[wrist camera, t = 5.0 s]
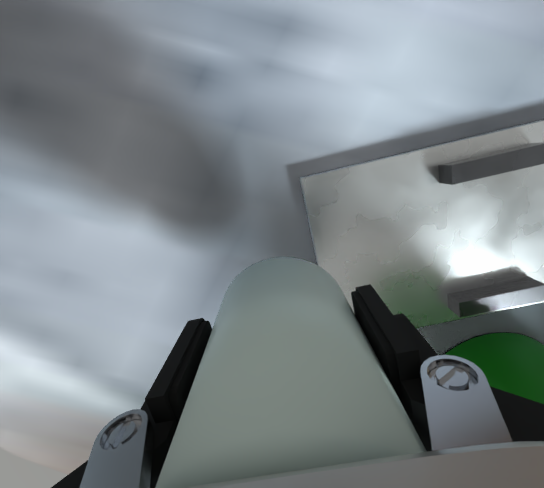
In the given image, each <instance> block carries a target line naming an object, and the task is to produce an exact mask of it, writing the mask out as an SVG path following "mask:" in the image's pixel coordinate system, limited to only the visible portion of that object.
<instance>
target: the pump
mask: <svg viewBox="0 0 544 488" xmlns="http://www.w3.org/2000/svg"><path fill="white" fill-rule="evenodd" d="M420 452H427V451H426V449H425V447H424V445H423V443H422V442H421V440H420V438H419V436H418V434H417V432H416V430H415V428H414V426H413V424H412V423H411V421H410V419H409V417H408V415H407V413H406V411H405V409H404V407H403V405H402V404H401V402H400V400H399V398H398V396H397V394H396V392H395V390H394V388H393V386H392V385H391V383H390V381H389V379H388V377H387V375H386V373H385V371H384V369H383V367H382V366H381V364H380V362H379V360H378V358H377V356H376V354H375V352H374V350H373V348H372V346H371V345H370V343H369V341H368V339H367V337H366V335H365V333H364V331H363V329H362V327H361V326H360V324H359V322H358V320H357V318H356V316H355V314H354V312H353V310H352V308H351V307H350V305H349V303H348V301H347V299H346V297H345V295H344V293H343V291H342V289H341V288H340V286H339V284H338V283H337V282H336V280H335V279H334V278H333V277H332V276H331V275H330V274H329V273H328V272H327V271H325V270H324V269H323V268H321V267H320V266H318V265H316V264H314V263H312V262H309V261H306V260H303V259H299V258H293V257H276V258H270V259H266V260H263V261H260V262H258V263H255V264H253V265H251V266H250V267H248V268H246V269H245V270H244V271H242V272H241V273H240V274H239V275H238V276H237V277H236V278H235V279H234V280H233V281H232V283H231V284H230V286H229V287H228V289H227V291H226V293H225V296H224V299H223V301H222V304H221V307H220V310H219V312H218V315H217V318H216V321H215V323H214V326H213V329H212V332H211V335H210V337H209V340H208V343H207V346H206V348H205V351H204V354H203V357H202V359H201V362H200V365H199V368H198V371H197V373H196V376H195V379H194V382H193V384H192V387H191V390H190V393H189V396H188V398H187V401H186V404H185V407H184V409H183V412H182V415H181V418H180V420H179V423H178V426H177V429H176V432H175V434H174V437H173V440H172V443H171V445H170V448H169V451H168V454H167V457H166V459H165V462H164V465H163V468H162V470H161V473H160V476H159V479H158V481H157V484H156V487H155V488H186V487H192V486H198V485H205V484H211V483H218V482H224V481H231V480H237V479H244V478H250V477H257V476H263V475H270V474H277V473H283V472H290V471H296V470H303V469H310V468H316V467H323V466H330V465H337V464H344V463H351V462H357V461H364V460H371V459H378V458H385V457H392V456H399V455H406V454H412V453H420Z"/></svg>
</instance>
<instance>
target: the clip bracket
mask: <svg viewBox="0 0 544 488" xmlns="http://www.w3.org/2000/svg"><path fill="white" fill-rule="evenodd" d="M300 183H301V188H302V193H303V198H304V203H305V208H306V213H307V218H308V223H309V228H310V233H311V237H312V242H313V247H314V252H315V257H316V262H317V265H318V266H320V267H321V268H323V269H324V270H325V271H327V272H328V273H329V274H330V275H331V276H332V277H333V278H334V279H335V280H336V282H337V283H338V284H339V286H340V288H341V289H342V291H343V293H344V295H345V297H346V299H347V301H348V303H349V305H350V307H351V308H352V310H353V312H354V308H353V302H352V297H351V292H353V291H356V289H355V288H356V287H359V286H364V285H369V284H371V286H372V287H373V288H374V290H375V291H376V292H377V294H378V295H379V296H380V298H381V299H382V300H383V302H384V303H385V304H386V306H387V307H388V309H389V310H390V311H391V313H392V314H393V315H396V314H401V313H402V314H404V315H405V316H406V317H407V318H408V319H409V320H410V322H411V323H412V324H413V325H414V327H415V328H419V327H424V326H429V325H434V324H439V323H444V322H449V321H453V320H458V319H463V318H468V317H473V316H478V315H483V314H488V313H493V312H498V311H503V310H507V309H512V308H517V307H522V306H527V305H532V304H537V303H542V302H544V119H543V120H539V121H534V122H530V123H526V124H522V125H518V126H513V127H509V128H505V129H501V130H497V131H492V132H488V133H484V134H480V135H476V136H472V137H467V138H463V139H459V140H455V141H451V142H446V143H442V144H438V145H434V146H430V147H425V148H421V149H417V150H413V151H409V152H405V153H400V154H396V155H392V156H388V157H384V158H379V159H375V160H371V161H367V162H363V163H358V164H354V165H350V166H346V167H342V168H338V169H333V170H329V171H325V172H321V173H317V174H312V175H308V176H304V177H300Z"/></svg>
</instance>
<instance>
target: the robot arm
mask: <svg viewBox="0 0 544 488" xmlns="http://www.w3.org/2000/svg"><path fill="white" fill-rule="evenodd" d="M355 289H356V291H353V292H351V297H352V302H353V308H354V314H355V316H356V318H357V320H358V322H359V324H360V326H361V327H362V329H363V331H364V333H365V335H366V337H367V339H368V341H369V343H370V345H371V346H372V348H373V350H374V352H375V354H376V356H377V358H378V360H379V362H380V364H381V366H382V367H383V369H384V371H385V373H386V375H387V377H388V379H389V381H390V383H391V385H392V386H393V388H394V390H395V392H396V394H397V396H398V398H399V400H400V402H401V404H402V405H403V407H404V409H405V411H406V413H407V415H408V417H409V419H410V421H411V423H412V424H413V426H414V428H415V430H416V432H417V434H418V436H419V438H420V440H421V442H422V443H423V445H424V447H425V449H426V451H427V452H420V453H412V454H406V455H399V456H392V457H385V458H378V459H371V460H364V461H357V462H351V463H344V464H337V465H330V466H323V467H316V468H310V469H303V470H296V471H290V472H283V473H277V474H270V475H263V476H257V477H250V478H244V479H237V480H231V481H224V482H218V483H211V484H205V485H198V486H192V487H186V488H544V404H542V403H539V402H536V401H533V400H530V399H527V398H524V397H521V396H518V395H515V394H512V393H509V392H506V391H503V390H500V389H497V388H494V387H491V386H489V383H488V381H487V379H486V376H485V374H484V373H483V371H482V370H481V369H480V368H479V367H478V366H477V365H475V364H474V363H472V362H470V361H468V360H466V359H464V358H461V357H457V356H451V355H437V354H436V352H435V351H434V350H433V349H432V348H431V346H430V345H429V344H428V343H427V341H426V340H425V339H424V338H423V336H422V335H421V334H420V333H419V332H418V330H417V329H416V328H415V327H414V325H413V324H412V323H411V322H410V320H409V319H408V318H407V317H406V316H405V315H404V314H402V313H401V314H396V315H393V314H392V313H391V311H390V310H389V309H388V307H387V306H386V304H385V303H384V302H383V300H382V299H381V298H380V296H379V295H378V294H377V292H376V291H375V290H374V288H373V287H372V286H371V284H369V285H364V286H359V287H356V288H355ZM211 332H212V328H211V325H210V322H209V321H205V320H204V319H203V318H200V319H196V320H191V321H188V322H187V324H186V326H185V327H184V329H183V331H182V333H181V335H180V337H179V338H178V340H177V342H176V344H175V346H174V347H173V349H172V351H171V353H170V355H169V356H168V358H167V360H166V362H165V364H164V365H163V367H162V369H161V371H160V373H159V374H158V376H157V378H156V380H155V382H154V383H153V385H152V387H151V389H150V391H149V393H148V394H147V396H146V398H145V402H144V404H143V406H142V408H141V409H135V410H130V411H127V412H125V413H123V414H121V415H119V416H117V417H116V418H114V419H113V420H111V421H110V422H109V423H108V424H107V425H106V426H105V427H104V428H103V429H102V430H101V431H100V433H99V434H98V436H97V438H96V440H95V442H94V445H93V448H92V451H91V454H90V457H89V460H88V461H86V462H85V463H84V464H82V465H81V466H80V467H78V468H77V469H76V470H74V471H73V472H72V473H70V474H69V475H67V476H66V477H65V478H63V479H62V480H61V481H60V482H58V483H57V484H55V485H54V486H53V487H52V488H155V487H156V484H157V481H158V479H159V476H160V473H161V470H162V468H163V465H164V462H165V459H166V457H167V454H168V451H169V448H170V445H171V443H172V440H173V437H174V434H175V432H176V429H177V426H178V423H179V420H180V418H181V415H182V412H183V409H184V407H185V404H186V401H187V398H188V396H189V393H190V390H191V387H192V384H193V382H194V379H195V376H196V373H197V371H198V368H199V365H200V362H201V359H202V357H203V354H204V351H205V348H206V346H207V343H208V340H209V337H210V335H211Z"/></svg>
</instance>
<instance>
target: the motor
mask: <svg viewBox="0 0 544 488" xmlns="http://www.w3.org/2000/svg"><path fill="white" fill-rule="evenodd" d="M445 355H451V356H457V357H461V358H464V359H466V360H468V361H470V362H472V363H474V364H475V365H477V366H478V367H479V368H480V369H481V370H482V371H483V373H484V374H485V376H486V379H487V381H488V383H489V386H491V387H494V388H497V389H500V390H503V391H506V392H509V393H512V394H515V395H518V396H521V397H524V398H527V399H530V400H533V401H536V402H539V403H542V404H544V345H543V344H541V343H540V342H538V341H536V340H535V339H533V338H530V337H528V336H525V335H521V334H516V333H493V334H487V335H482V336H479V337H475V338H473V339H470V340H468V341H465V342H463V343H461V344H459V345H458V346H456V347H454V348H453V349H451V350H450V351H448V352H447V353H446V354H445Z"/></svg>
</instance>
